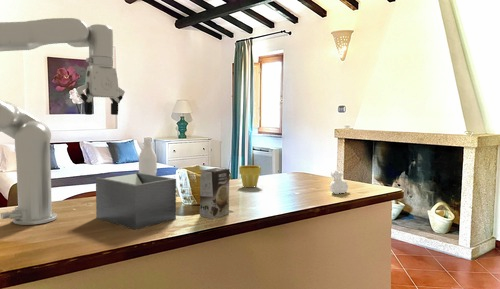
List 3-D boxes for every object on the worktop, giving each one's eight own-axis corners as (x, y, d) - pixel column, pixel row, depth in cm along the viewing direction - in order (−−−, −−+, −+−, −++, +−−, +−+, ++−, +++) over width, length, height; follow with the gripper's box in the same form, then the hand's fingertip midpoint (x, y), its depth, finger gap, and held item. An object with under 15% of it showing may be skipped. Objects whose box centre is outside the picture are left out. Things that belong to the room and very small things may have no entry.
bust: (344, 195, 183) (332, 175, 187) (356, 188, 178) (343, 167, 183) (330, 199, 175) (317, 177, 179) (342, 191, 170) (329, 169, 174)
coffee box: (214, 219, 131) (214, 171, 130) (199, 216, 134) (199, 170, 133) (229, 213, 139) (230, 168, 137) (215, 211, 142) (215, 167, 141)
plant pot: (236, 188, 186) (236, 167, 185) (241, 184, 196) (242, 164, 195) (257, 189, 183) (258, 168, 183) (262, 185, 194) (262, 165, 193)
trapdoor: (120, 214, 125) (122, 212, 124) (102, 180, 130) (103, 178, 129) (153, 206, 135) (154, 204, 135) (134, 175, 140) (136, 173, 140)
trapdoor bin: (135, 229, 118) (135, 185, 117) (96, 217, 130) (95, 177, 129) (175, 218, 131) (175, 178, 130) (136, 208, 143) (136, 172, 142)
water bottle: (160, 198, 160) (160, 137, 158) (150, 202, 153) (150, 138, 151) (145, 197, 162) (145, 137, 160) (135, 200, 156) (134, 138, 154)
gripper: (83, 59, 122) (84, 114, 123) (130, 65, 135) (130, 115, 137) (70, 61, 126) (71, 114, 128) (116, 66, 140) (117, 114, 141)
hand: (101, 114), depth 132 cm, fingers open, 9 cm apart
